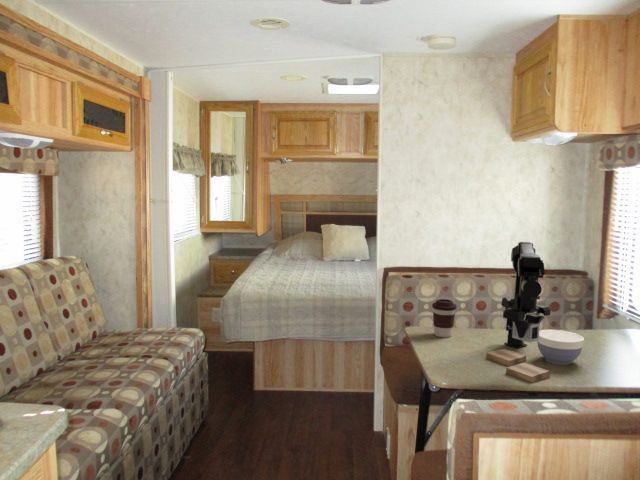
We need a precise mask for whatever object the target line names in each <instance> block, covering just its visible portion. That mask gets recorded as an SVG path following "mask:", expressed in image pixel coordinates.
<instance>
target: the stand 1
mask: <svg viewBox="0 0 640 480" xmlns="http://www.w3.org/2000/svg"><path fill="white" fill-rule="evenodd" d="M485 355H486V356H485V357H486V359H488V360H490V361H493V362H497V363H499V364H502V365H504V366H506V367H510V366H514V365H517V364H521V363H526V362H527V355H524V354H523V353H522V354H521V353H519V352H515V351H512V350H510V349H506V348H500V349H497V350H493V351H489V352H486V354H485Z"/></svg>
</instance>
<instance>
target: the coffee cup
mask: <svg viewBox="0 0 640 480" xmlns="http://www.w3.org/2000/svg"><path fill="white" fill-rule="evenodd" d="M431 305H432V308H433V312H432V313H433V314H432V315H433V316H432V317H433V319H432V320H433V335H435V336H436V337H438V338H450V337H452V336H453V327H454V324H455V316H456V312H455V311H456V310H457V307H458V306H457V304H455V303H454V301H453V300H451V299H446V298H439V299H436V300H435V302H433V303H432V304H431Z"/></svg>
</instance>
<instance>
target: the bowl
mask: <svg viewBox="0 0 640 480" xmlns="http://www.w3.org/2000/svg"><path fill="white" fill-rule="evenodd" d="M584 340H585V338H584V337H583V336H582V335H580V334H578V333H575V332H573V331H568V330H561V329H541V330H539V341H536V343H537V347H538V350H539V352H540V354H541V355H542V357H544V359H545V361H546V362H548V363H551V364H554V365H562V366H567V365H571V364H572V363H573V362H574V361H575V360H577V358H579V356H580V354H581V353H582V350H583V347H584V342H585V341H584Z"/></svg>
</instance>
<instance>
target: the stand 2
mask: <svg viewBox="0 0 640 480" xmlns="http://www.w3.org/2000/svg"><path fill="white" fill-rule="evenodd" d="M505 373H506V374H507V375H510V376H512V377H515V378H517V379H520V380H524V381H526V382H529V383H531V384H532V383H534V382H537V381H538V382H539V381H540V380H541V381H542V380H543V379H546V378H549V377H550V370H547V369H545V368H542V367H539V366H535V365H533V364H530V363H527V362H521V363H518V364H515V365H511V366H506V369H505Z"/></svg>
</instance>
